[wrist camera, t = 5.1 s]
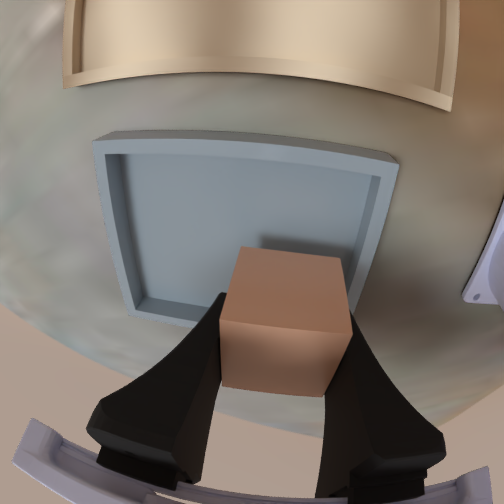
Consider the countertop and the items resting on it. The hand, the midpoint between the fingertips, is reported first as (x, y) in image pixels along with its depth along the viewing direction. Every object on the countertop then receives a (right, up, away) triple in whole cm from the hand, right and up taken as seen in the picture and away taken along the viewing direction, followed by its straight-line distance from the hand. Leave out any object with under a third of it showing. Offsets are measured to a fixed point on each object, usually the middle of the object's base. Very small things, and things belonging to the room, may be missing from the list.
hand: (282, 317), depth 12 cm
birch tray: (-1, +14, -6) cm, 16 cm away
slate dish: (-2, +3, +2) cm, 4 cm away
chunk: (0, +1, +1) cm, 1 cm away
